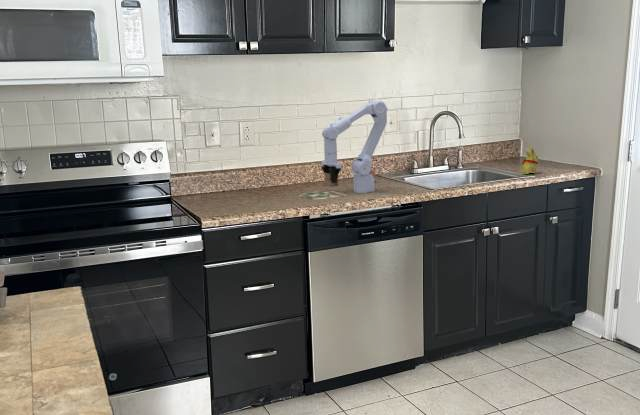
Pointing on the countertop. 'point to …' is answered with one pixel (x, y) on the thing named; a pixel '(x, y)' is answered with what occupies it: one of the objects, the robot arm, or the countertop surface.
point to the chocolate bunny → (530, 161)
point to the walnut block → (329, 180)
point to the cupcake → (372, 172)
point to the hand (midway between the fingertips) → (331, 182)
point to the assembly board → (321, 195)
